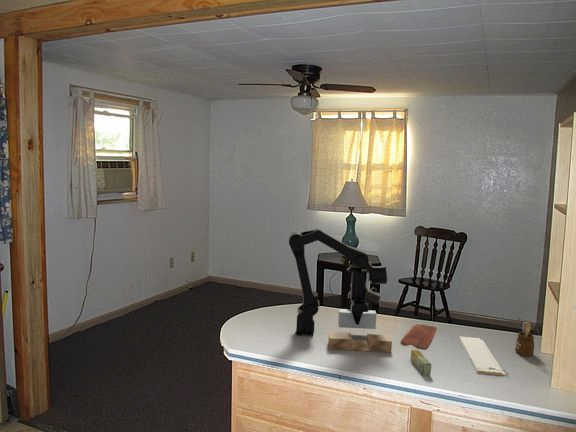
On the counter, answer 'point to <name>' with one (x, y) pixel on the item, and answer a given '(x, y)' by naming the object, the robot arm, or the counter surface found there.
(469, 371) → the counter surface
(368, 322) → the pale blue block
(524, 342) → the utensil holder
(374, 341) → the notched beam
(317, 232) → the robot arm
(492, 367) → the baseboard
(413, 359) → the medication box
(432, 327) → the wooden tablet
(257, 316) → the counter surface
